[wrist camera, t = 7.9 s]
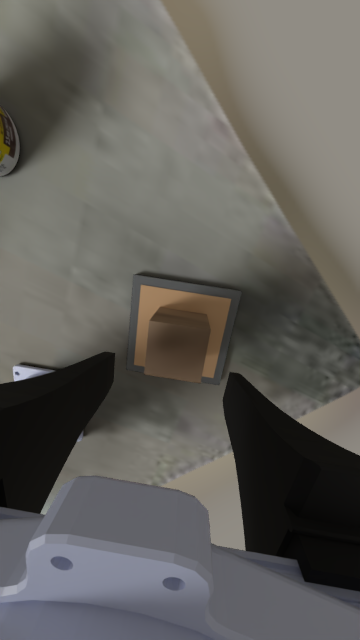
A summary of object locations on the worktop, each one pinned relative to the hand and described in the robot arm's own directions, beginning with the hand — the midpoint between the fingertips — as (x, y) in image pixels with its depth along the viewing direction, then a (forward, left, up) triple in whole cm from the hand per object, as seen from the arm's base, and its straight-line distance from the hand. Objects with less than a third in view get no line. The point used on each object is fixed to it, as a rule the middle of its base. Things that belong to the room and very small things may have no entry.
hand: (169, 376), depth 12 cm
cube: (0, 0, -7) cm, 7 cm away
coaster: (0, 0, -8) cm, 8 cm away
